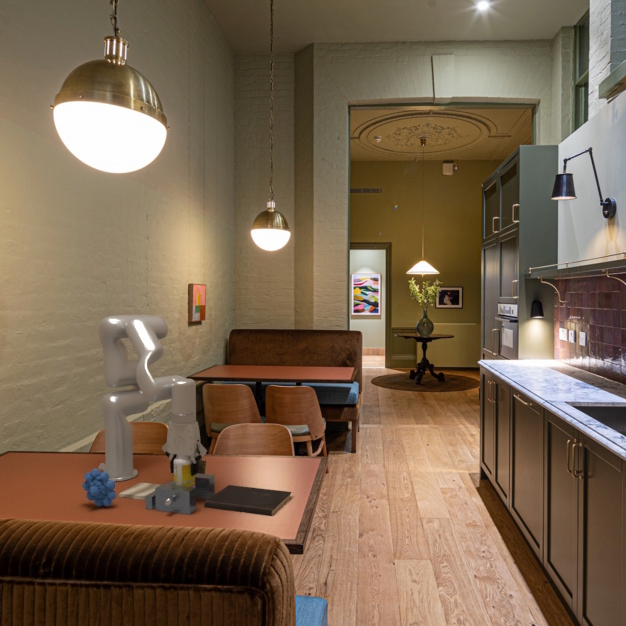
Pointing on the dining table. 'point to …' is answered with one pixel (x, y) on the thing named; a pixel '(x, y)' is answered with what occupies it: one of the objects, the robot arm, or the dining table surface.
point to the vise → (181, 495)
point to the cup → (202, 467)
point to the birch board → (139, 491)
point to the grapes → (99, 488)
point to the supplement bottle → (183, 471)
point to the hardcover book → (248, 500)
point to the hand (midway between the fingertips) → (184, 472)
